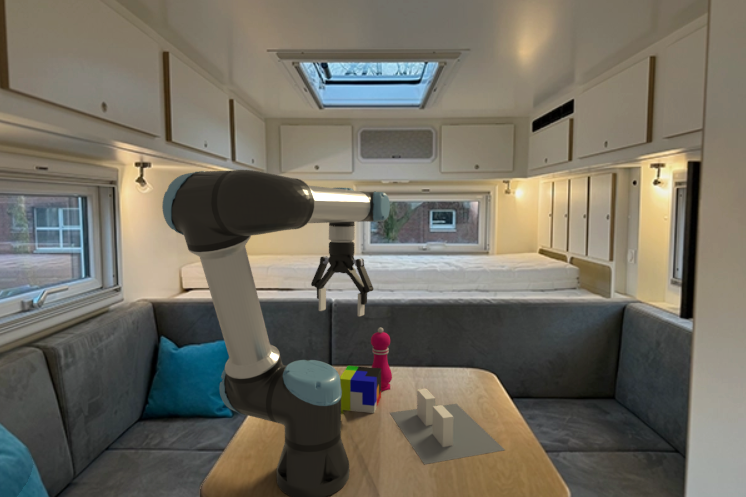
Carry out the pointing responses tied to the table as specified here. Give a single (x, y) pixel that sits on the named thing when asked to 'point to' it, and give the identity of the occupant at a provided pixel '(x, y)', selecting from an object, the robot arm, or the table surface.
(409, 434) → the slate board
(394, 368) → the table surface
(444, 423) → the tile
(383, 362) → the pepper mill
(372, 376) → the puzzle toy
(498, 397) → the table surface
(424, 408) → the tile
